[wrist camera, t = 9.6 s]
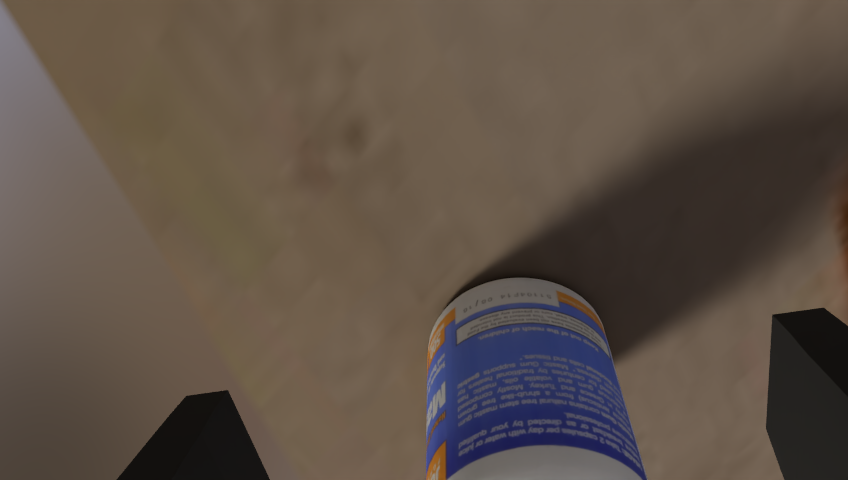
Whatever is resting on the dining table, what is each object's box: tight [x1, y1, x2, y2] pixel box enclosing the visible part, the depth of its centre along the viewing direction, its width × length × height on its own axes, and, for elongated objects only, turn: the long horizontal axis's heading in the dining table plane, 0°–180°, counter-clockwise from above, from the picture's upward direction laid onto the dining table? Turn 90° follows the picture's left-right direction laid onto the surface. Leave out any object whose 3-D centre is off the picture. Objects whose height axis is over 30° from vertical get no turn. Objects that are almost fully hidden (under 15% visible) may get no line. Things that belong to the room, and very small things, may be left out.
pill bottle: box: [426, 278, 648, 480], centre depth 19 cm, size 5×5×10 cm
